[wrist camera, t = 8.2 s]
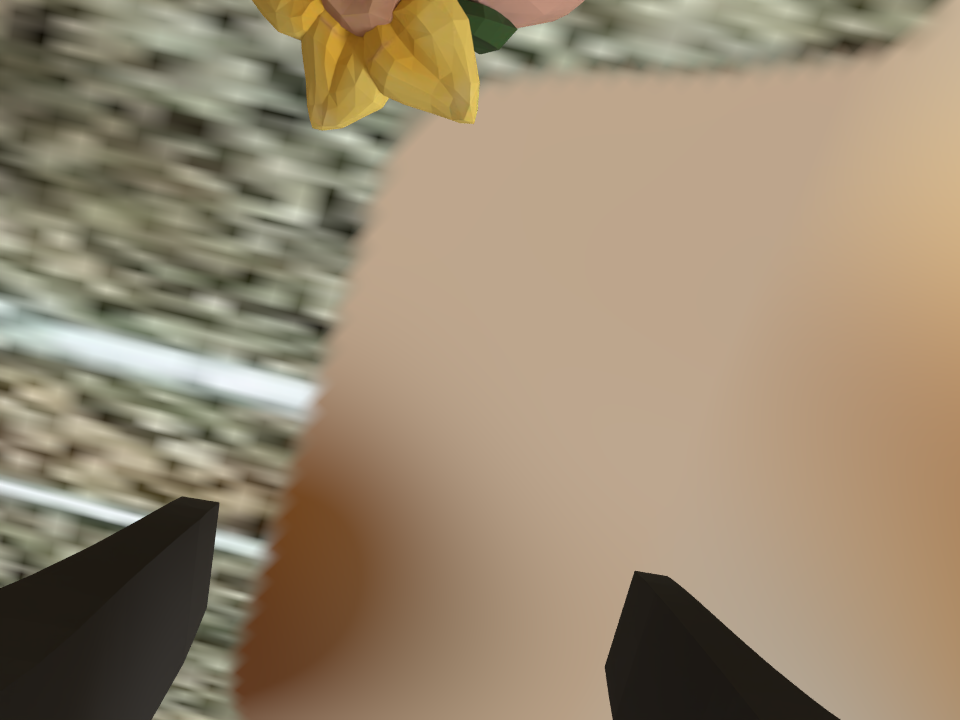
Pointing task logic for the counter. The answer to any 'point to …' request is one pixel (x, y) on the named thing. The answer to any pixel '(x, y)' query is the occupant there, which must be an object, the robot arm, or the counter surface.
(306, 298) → the counter surface
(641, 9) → the counter surface
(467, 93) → the figurine
